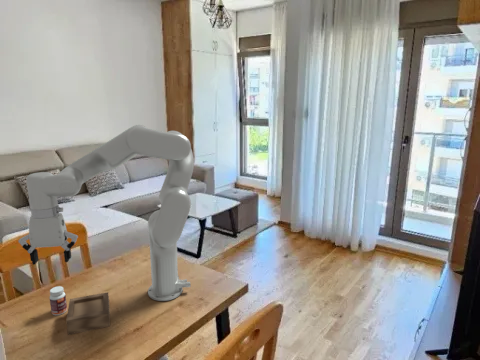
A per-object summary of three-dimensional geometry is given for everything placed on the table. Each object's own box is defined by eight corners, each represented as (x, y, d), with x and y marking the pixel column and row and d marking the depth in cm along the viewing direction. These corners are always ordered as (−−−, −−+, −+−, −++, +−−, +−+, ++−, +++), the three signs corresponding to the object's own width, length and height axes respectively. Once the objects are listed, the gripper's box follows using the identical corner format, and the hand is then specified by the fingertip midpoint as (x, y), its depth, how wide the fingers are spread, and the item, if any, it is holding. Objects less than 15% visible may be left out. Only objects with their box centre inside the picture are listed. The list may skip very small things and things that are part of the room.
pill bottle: (60, 316, 114) (57, 294, 112) (48, 314, 115) (45, 292, 113) (70, 308, 119) (67, 286, 117) (58, 306, 120) (55, 284, 118)
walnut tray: (109, 304, 121) (108, 292, 120) (109, 326, 110) (108, 312, 109) (71, 312, 117) (69, 299, 116) (68, 334, 106) (66, 320, 105)
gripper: (77, 206, 114) (82, 254, 118) (20, 209, 111) (27, 258, 115) (71, 214, 106) (76, 265, 111) (9, 217, 103) (17, 269, 108)
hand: (51, 261), depth 113 cm, fingers open, 9 cm apart
